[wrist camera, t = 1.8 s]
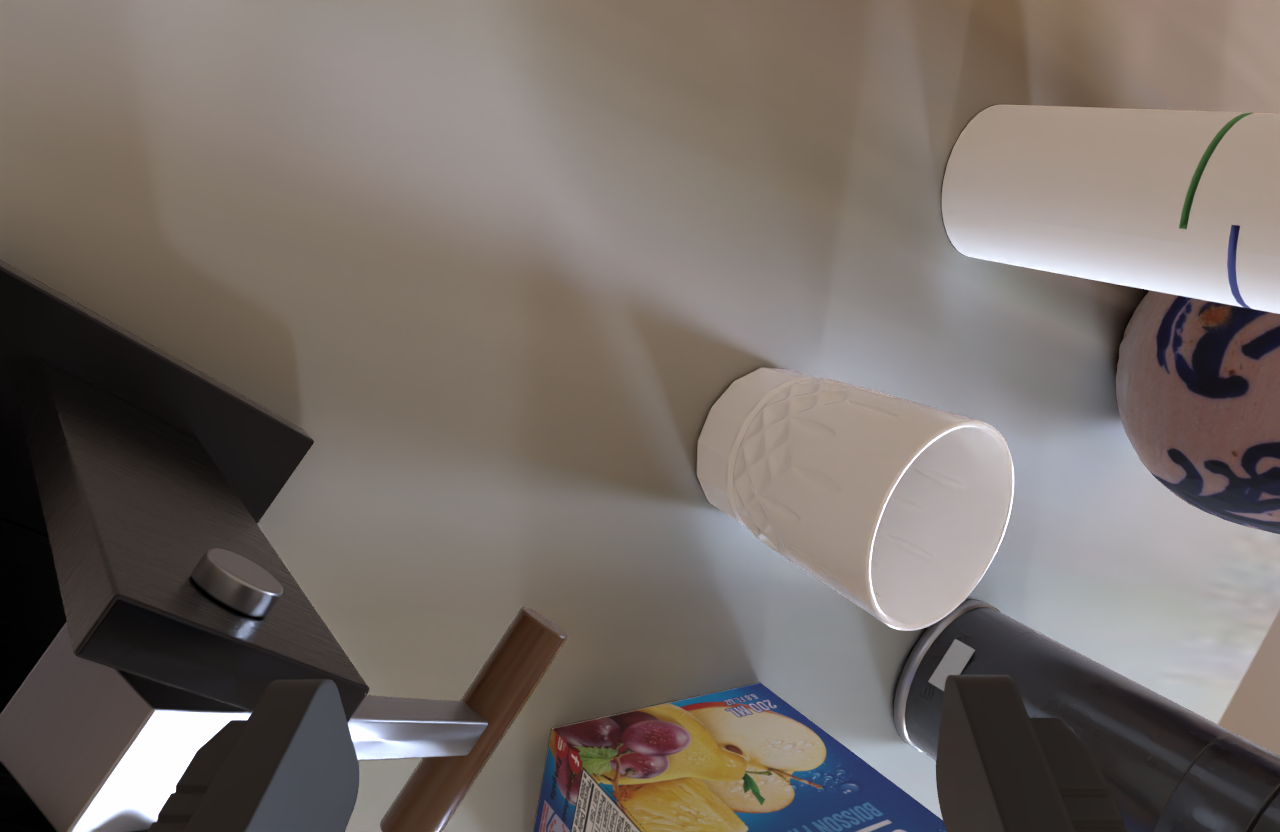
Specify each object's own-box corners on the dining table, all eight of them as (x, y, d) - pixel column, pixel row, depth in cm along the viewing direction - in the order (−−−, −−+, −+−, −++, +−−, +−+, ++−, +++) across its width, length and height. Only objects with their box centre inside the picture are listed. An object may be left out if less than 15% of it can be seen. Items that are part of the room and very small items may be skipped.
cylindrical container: (946, 280, 45) (1698, 439, 26) (936, 132, 41) (1796, 186, 22) (1037, 227, 48) (1771, 333, 29) (1035, 84, 44) (1867, 97, 25)
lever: (525, 601, 28) (587, 648, 27) (389, 808, 27) (447, 863, 26) (159, 488, 15) (252, 569, 14) (-118, 876, 14) (-41, 990, 13)
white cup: (738, 559, 42) (916, 668, 34) (650, 454, 37) (834, 555, 30) (843, 429, 44) (1036, 506, 36) (772, 314, 39) (977, 374, 31)
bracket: (303, 429, 29) (537, 664, 17) (147, 652, 28) (286, 1050, 17) (-45, 234, 23) (-34, 402, 11) (-259, 514, 22) (-484, 1002, 10)
